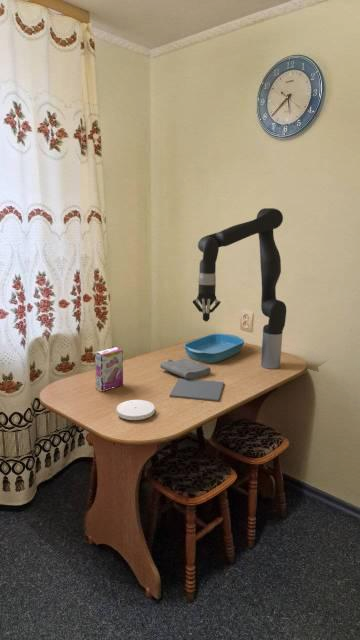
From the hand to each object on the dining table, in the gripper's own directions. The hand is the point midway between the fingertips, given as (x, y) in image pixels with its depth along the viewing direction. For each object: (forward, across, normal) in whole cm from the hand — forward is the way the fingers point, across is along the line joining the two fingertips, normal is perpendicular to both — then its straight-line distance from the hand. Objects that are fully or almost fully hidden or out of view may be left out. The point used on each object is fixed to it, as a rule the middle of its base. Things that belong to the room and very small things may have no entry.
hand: (206, 321), depth 195 cm
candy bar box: (+26, +37, +25) cm, 51 cm away
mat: (+25, 0, +20) cm, 32 cm away
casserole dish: (+26, -1, -29) cm, 39 cm away
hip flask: (+23, +2, +6) cm, 24 cm away
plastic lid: (+26, +19, +46) cm, 56 cm away
